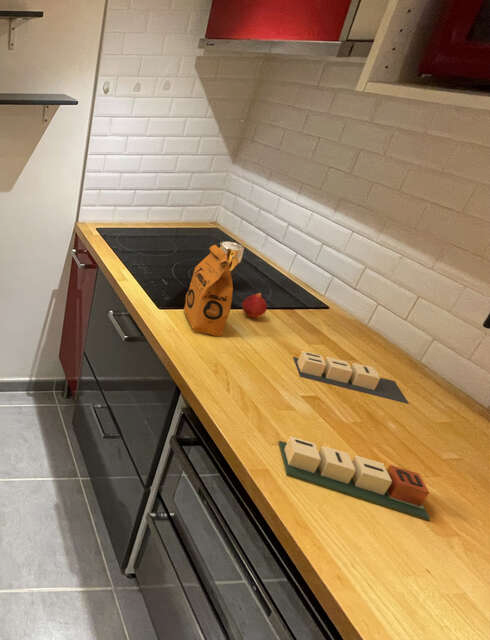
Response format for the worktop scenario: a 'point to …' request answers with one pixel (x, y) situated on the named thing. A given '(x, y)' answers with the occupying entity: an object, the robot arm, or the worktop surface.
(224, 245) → the beer glass
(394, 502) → the word board
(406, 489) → the orange cube
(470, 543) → the worktop surface
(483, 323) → the robot arm
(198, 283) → the coffee package
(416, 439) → the worktop surface
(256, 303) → the onion
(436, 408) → the worktop surface
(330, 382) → the word board
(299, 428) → the worktop surface
